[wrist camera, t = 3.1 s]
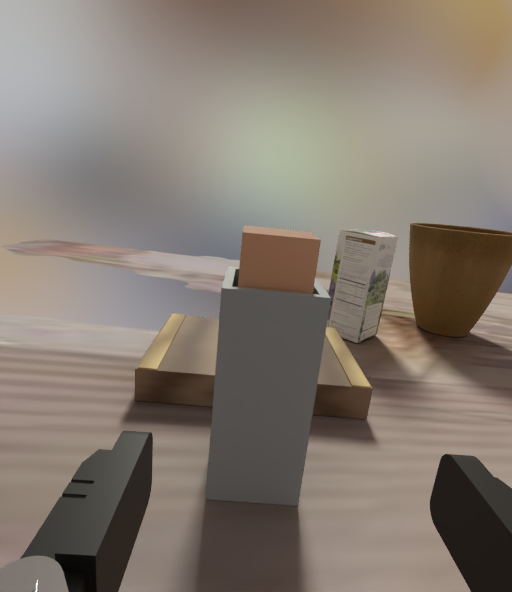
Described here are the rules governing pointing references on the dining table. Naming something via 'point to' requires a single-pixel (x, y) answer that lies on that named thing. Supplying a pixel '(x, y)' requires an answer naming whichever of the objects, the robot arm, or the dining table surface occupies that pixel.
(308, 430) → the grey open box
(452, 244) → the plant pot
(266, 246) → the block
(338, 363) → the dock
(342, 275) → the syrup box
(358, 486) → the dining table surface
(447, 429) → the dining table surface
